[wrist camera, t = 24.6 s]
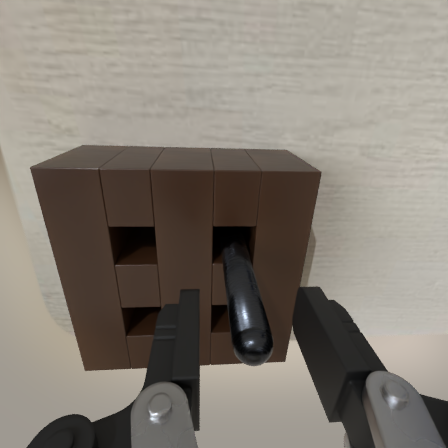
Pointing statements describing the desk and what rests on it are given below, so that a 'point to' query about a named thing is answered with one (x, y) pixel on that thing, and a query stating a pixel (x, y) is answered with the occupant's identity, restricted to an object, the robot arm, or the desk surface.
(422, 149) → the desk surface
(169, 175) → the pen holder
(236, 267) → the stylus
